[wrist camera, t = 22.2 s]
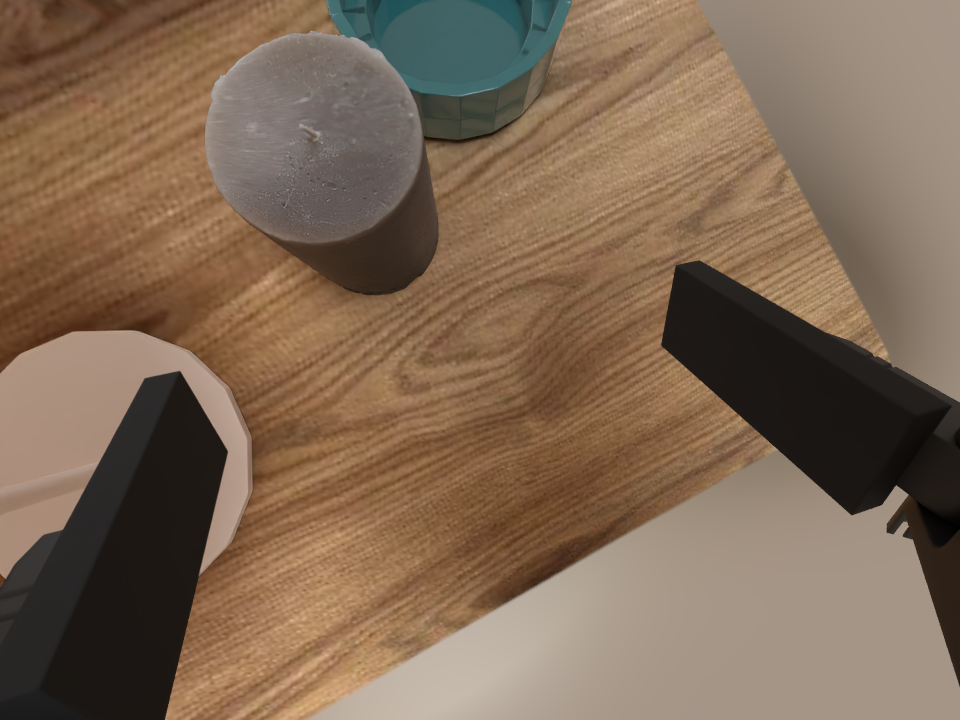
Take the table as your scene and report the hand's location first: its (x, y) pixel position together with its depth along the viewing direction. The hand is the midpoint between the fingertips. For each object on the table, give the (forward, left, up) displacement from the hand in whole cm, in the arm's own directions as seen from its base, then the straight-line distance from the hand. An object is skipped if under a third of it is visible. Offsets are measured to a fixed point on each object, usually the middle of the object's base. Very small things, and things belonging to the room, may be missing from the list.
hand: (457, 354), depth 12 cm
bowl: (+9, -22, -21) cm, 32 cm away
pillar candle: (+9, -7, -22) cm, 25 cm away
